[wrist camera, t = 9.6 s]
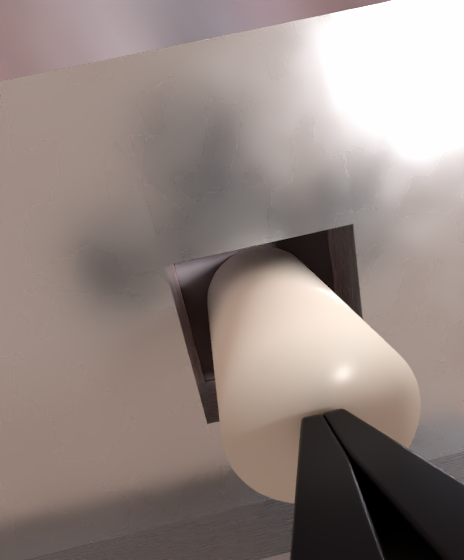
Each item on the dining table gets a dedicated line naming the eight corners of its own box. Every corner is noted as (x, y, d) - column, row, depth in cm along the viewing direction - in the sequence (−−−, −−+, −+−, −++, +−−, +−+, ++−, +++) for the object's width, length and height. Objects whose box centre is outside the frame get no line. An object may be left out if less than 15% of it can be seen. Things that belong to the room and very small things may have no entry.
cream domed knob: (320, 335, 15) (424, 478, 8) (219, 358, 15) (242, 523, 8) (306, 235, 14) (415, 309, 7) (196, 260, 13) (199, 359, 7)
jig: (448, 431, 17) (535, 524, 13) (-5, 542, 16) (-75, 678, 12) (436, 14, 12) (573, -65, 8) (-220, 151, 11) (-473, 147, 7)
